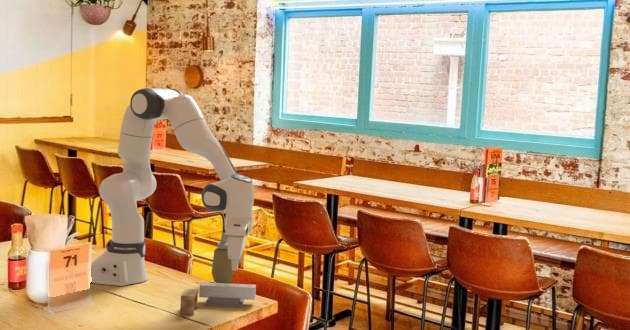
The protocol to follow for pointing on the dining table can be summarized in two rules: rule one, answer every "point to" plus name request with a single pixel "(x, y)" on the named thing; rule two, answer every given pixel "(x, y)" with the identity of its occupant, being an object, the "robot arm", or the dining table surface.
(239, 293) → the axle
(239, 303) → the cradle
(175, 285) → the dining table surface
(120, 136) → the robot arm
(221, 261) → the squeeze bottle
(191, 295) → the brown block
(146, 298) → the dining table surface
